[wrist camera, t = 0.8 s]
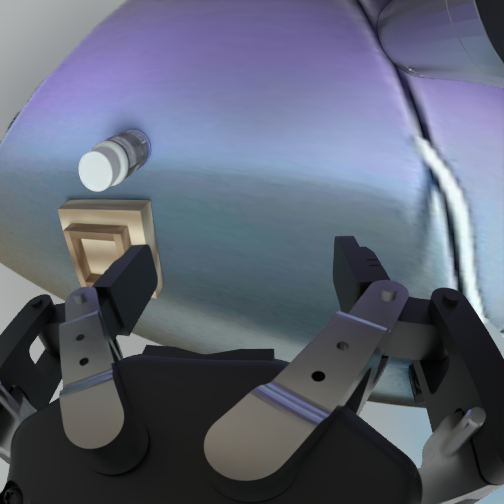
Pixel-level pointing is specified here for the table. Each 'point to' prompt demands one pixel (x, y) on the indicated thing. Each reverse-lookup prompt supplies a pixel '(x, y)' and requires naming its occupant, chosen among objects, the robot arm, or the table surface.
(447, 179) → the table surface
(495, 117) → the table surface
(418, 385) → the digital camera
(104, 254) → the wooden base
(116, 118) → the table surface
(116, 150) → the pill bottle
